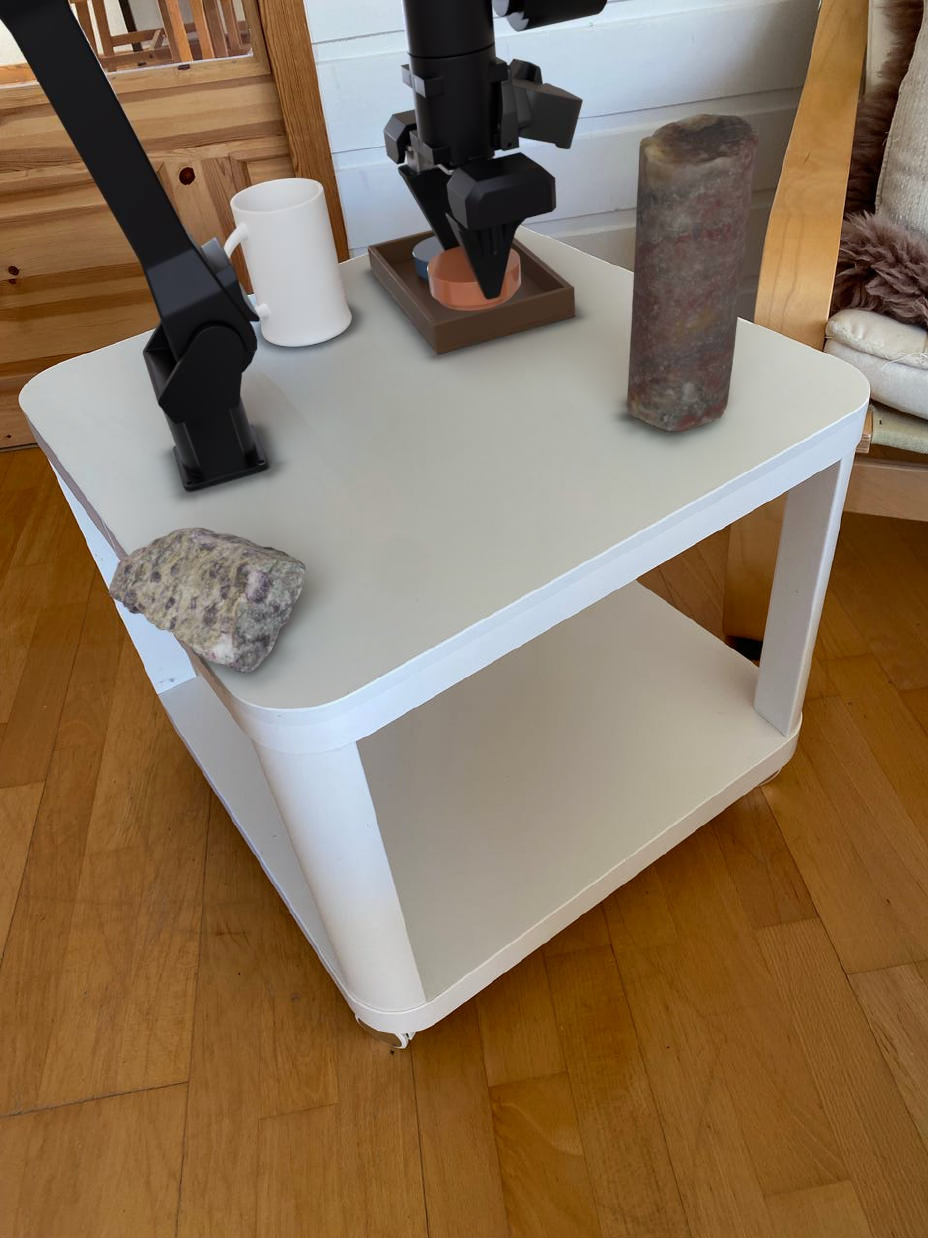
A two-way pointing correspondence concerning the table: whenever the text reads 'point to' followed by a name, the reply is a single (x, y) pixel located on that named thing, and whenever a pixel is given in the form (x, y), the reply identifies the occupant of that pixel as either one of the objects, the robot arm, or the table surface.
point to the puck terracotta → (467, 281)
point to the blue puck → (425, 255)
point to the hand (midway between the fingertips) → (474, 279)
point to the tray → (453, 329)
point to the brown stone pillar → (689, 267)
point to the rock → (212, 593)
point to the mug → (290, 261)
